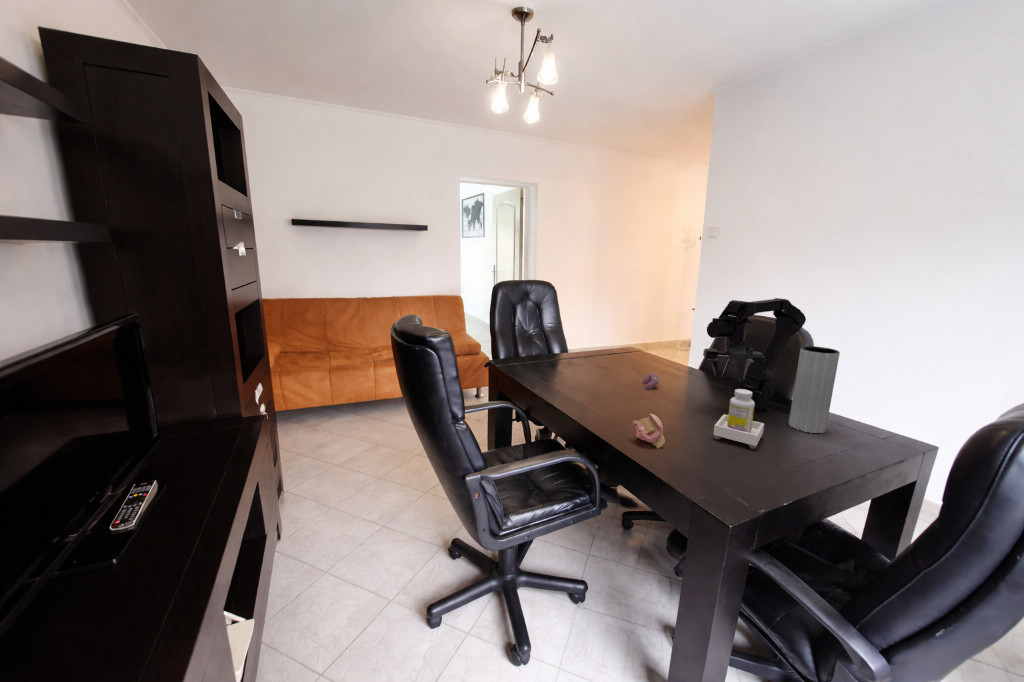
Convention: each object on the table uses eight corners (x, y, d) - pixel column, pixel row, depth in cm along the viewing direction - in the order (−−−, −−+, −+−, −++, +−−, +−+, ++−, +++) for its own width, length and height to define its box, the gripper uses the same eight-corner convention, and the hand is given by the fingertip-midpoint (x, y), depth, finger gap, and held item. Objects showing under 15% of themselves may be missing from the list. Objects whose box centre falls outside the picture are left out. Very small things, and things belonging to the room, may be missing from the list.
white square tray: (722, 427, 133) (723, 414, 132) (762, 437, 125) (764, 423, 124) (712, 439, 124) (714, 425, 123) (755, 451, 117) (757, 436, 116)
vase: (792, 419, 139) (804, 344, 134) (827, 427, 132) (842, 349, 127) (785, 427, 133) (797, 349, 127) (822, 437, 126) (837, 354, 120)
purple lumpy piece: (653, 393, 170) (662, 380, 168) (644, 388, 170) (652, 375, 168) (650, 386, 180) (658, 373, 178) (641, 381, 180) (649, 368, 178)
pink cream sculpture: (637, 433, 129) (660, 416, 127) (654, 459, 122) (679, 441, 120) (624, 426, 123) (648, 407, 121) (641, 452, 116) (668, 433, 114)
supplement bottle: (739, 424, 128) (744, 387, 125) (756, 433, 122) (761, 394, 119) (721, 426, 127) (726, 388, 124) (737, 435, 120) (743, 395, 117)
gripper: (710, 339, 135) (705, 382, 138) (772, 342, 129) (766, 387, 133) (705, 333, 145) (700, 373, 149) (762, 336, 140) (757, 378, 143)
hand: (730, 378), depth 143 cm, fingers open, 9 cm apart
